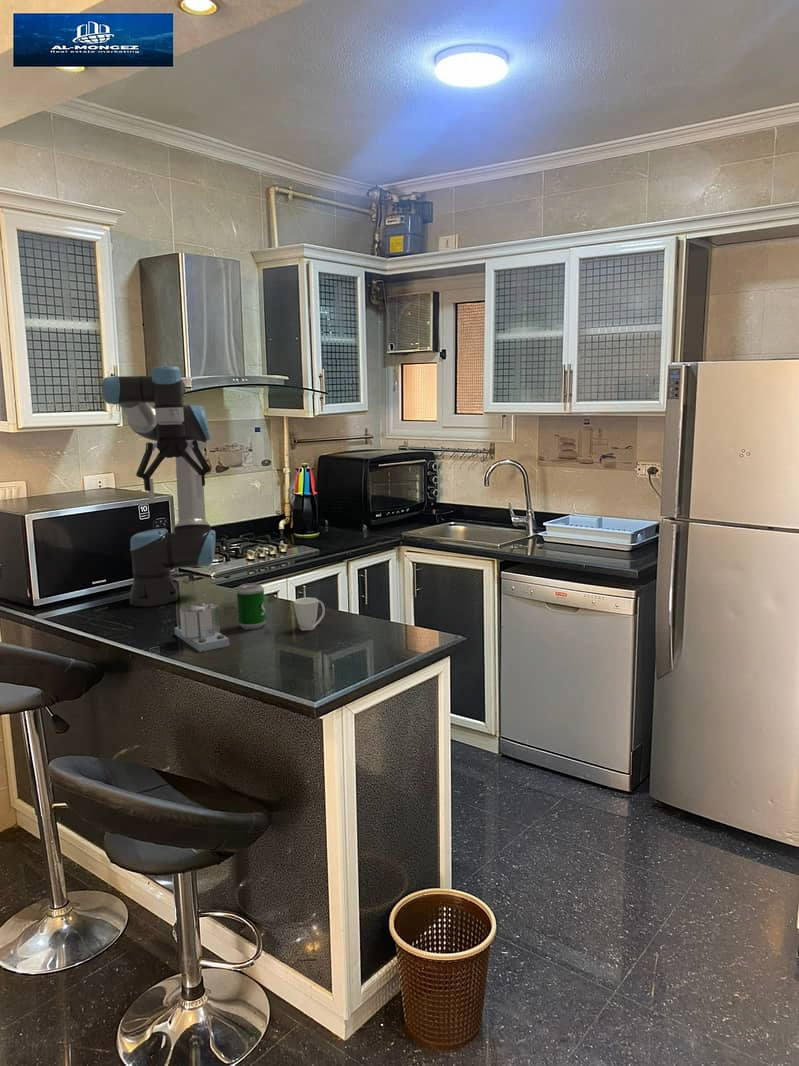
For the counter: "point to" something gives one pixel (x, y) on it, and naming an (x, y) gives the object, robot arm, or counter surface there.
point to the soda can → (251, 606)
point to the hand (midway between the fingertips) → (176, 500)
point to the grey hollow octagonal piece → (199, 620)
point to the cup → (308, 612)
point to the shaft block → (204, 638)
